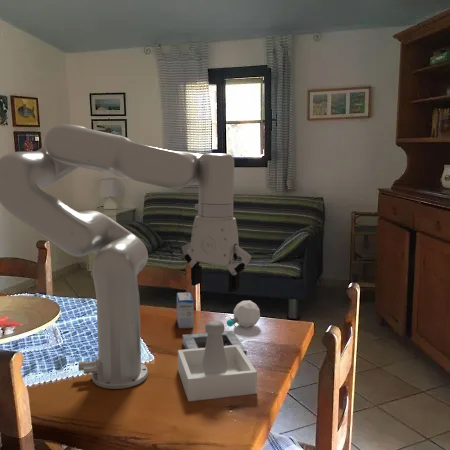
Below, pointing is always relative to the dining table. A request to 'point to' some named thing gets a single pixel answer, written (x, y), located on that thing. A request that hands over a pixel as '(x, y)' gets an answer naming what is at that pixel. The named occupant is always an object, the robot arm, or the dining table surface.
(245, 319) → the perfume bottle
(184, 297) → the medicine box
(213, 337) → the salt shaker
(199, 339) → the collar block
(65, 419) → the dining table surface
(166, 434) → the dining table surface
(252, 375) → the bin
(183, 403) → the dining table surface
